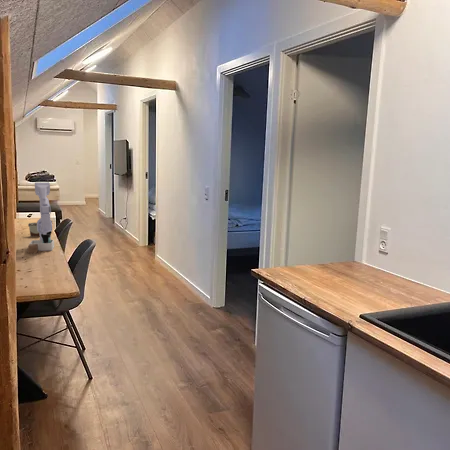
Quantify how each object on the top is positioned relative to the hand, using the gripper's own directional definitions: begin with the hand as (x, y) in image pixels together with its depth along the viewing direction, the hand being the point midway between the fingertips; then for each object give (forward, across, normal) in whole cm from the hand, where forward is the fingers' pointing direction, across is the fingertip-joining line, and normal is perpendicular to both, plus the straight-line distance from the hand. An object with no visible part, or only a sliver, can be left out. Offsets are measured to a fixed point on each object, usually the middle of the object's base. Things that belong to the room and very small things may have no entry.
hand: (46, 243), depth 301 cm
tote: (+4, 0, -3) cm, 5 cm away
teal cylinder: (+3, 0, 0) cm, 3 cm away
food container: (+4, -50, -13) cm, 52 cm away
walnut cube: (+4, +10, -7) cm, 13 cm away
